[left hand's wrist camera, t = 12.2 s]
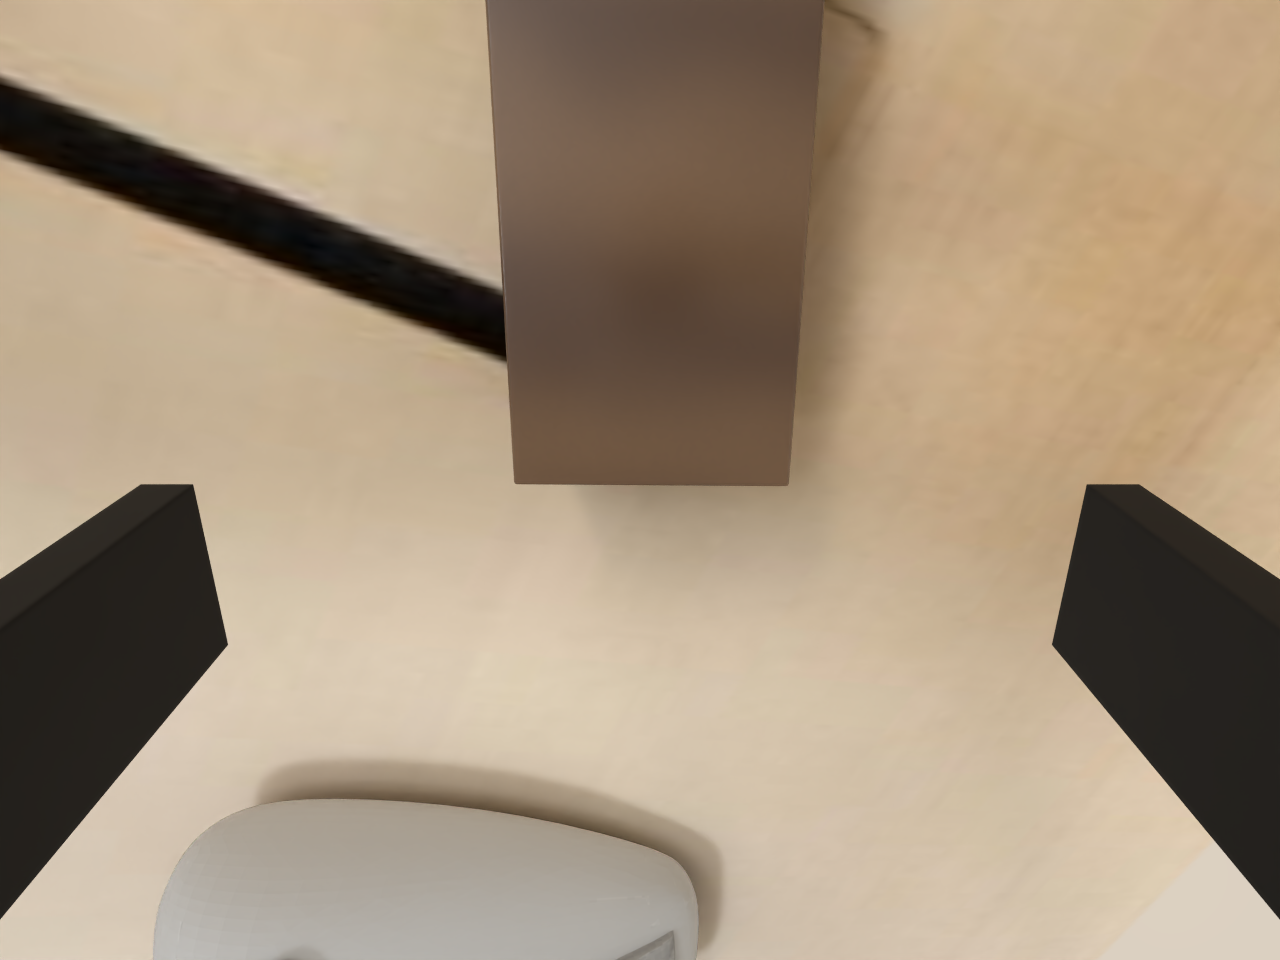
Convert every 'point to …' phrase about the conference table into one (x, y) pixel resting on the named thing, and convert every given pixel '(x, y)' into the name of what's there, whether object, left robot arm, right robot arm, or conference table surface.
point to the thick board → (653, 233)
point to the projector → (419, 888)
